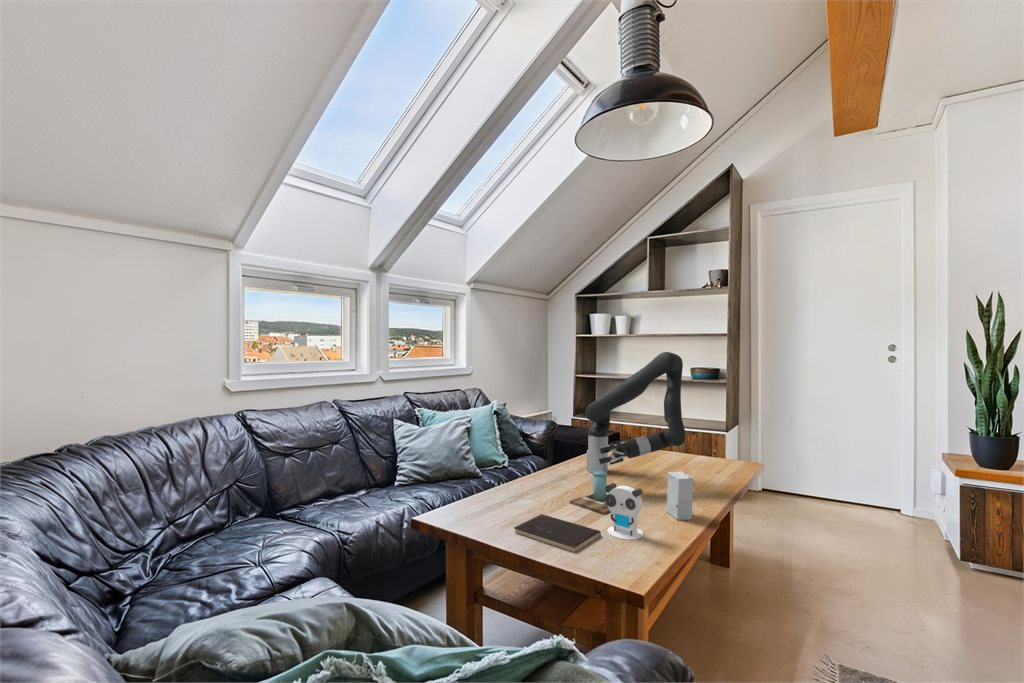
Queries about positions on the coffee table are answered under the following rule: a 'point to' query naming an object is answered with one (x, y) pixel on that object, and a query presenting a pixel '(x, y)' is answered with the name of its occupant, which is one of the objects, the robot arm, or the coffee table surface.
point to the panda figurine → (624, 511)
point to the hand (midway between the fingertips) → (599, 456)
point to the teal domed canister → (599, 486)
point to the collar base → (591, 504)
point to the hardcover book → (557, 532)
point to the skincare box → (679, 495)
